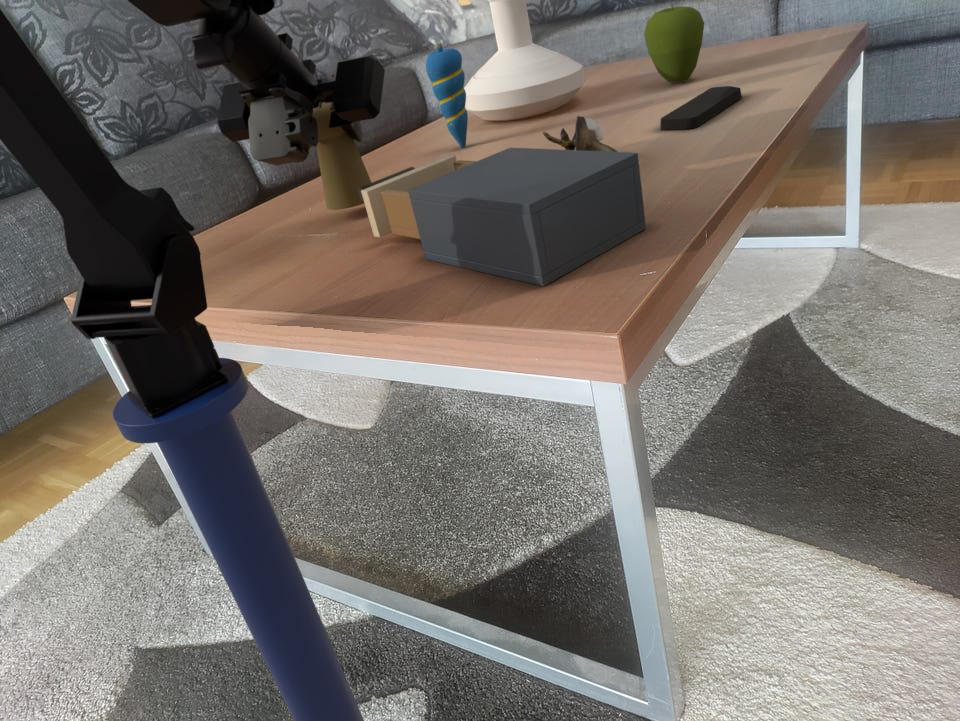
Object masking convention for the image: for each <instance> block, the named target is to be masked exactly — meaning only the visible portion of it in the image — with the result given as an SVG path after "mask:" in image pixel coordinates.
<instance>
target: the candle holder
mask: <svg viewBox="0 0 960 721" xmlns="http://www.w3.org/2000/svg"><path fill="white" fill-rule="evenodd" d="M486 1H487V2H488V3H489V8H490V13H491V19H492V25H493V30H494V35H495V42H496V46H497V51H496V52H495V53H494V54H493V55H492V56H491V57H490V58H489V59H488V60H486V62H485V63H484V64H483V65H482V66H481V67H480V68H479V69H477V71H476V73H475V74H473V75H472V77H471V78H470V79H469V81H468V82H467V83H466V84H465V86H464V89H465V92H466V104H465V108H466V110H467V112H469V113H471V114H473V115H474V116H476V117H478V118H480V119H481V120H484V121H498V122H499V121H500V122H508V121H518V120H523V119H528V118H533V117H537V116H540V115H543V114H547V113H549V112H552V111H554V110H556V109H558V108H560V107H562V106H564V105H566V104H568V103H570V102H571V101H572V100H573V98H574V97H575V95H576V94H578V92H579V91H580V90H581V88H582V87H583V85H584V84H585V82H586V77H585V71H584V70H585V69H584V65H583V64H582V63H580V62H577V61H576V60H574V59H572V58H570V57H568V56H567V55H565V54H561V53H560V52H557V51H554V50H552V49H549V48H547V47H544V46H541V45H539V44H536V43H533V36H532V31H531V24H530V18H529V12H528V5H527V0H486Z"/></svg>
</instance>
